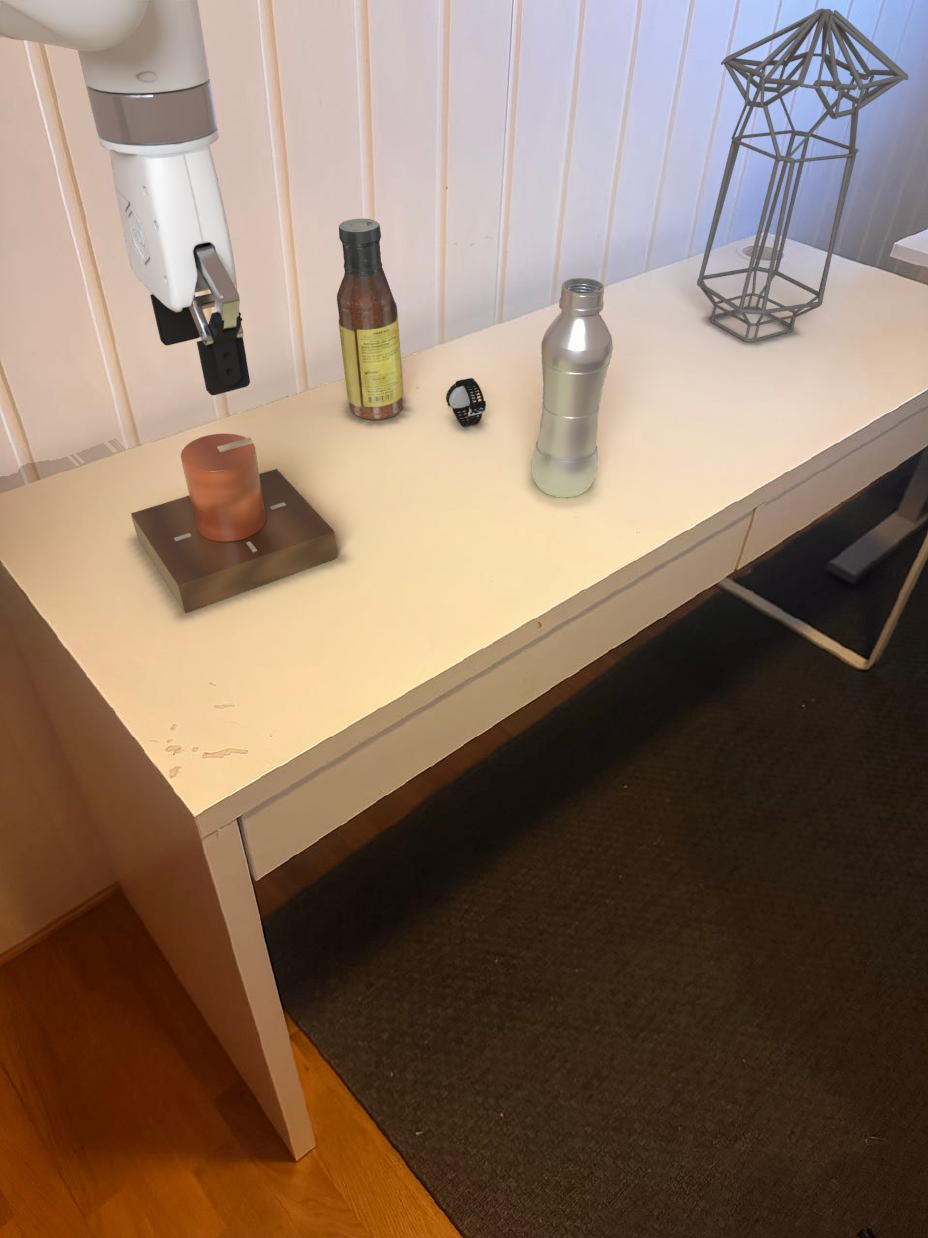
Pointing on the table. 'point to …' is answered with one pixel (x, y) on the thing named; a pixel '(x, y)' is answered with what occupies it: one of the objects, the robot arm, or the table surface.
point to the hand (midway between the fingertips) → (204, 363)
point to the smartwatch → (466, 401)
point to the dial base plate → (234, 546)
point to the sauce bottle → (368, 325)
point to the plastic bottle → (572, 391)
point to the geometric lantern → (731, 62)
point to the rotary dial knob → (224, 486)
